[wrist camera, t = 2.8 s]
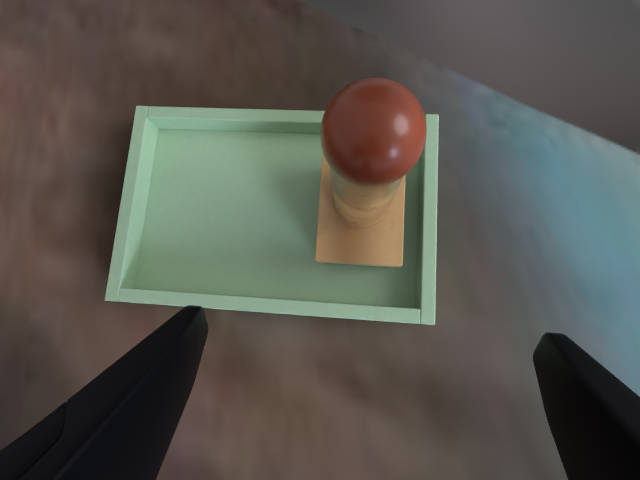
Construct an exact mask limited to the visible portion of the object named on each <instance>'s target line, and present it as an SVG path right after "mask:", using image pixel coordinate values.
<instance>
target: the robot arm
mask: <svg viewBox="0 0 640 480" xmlns="http://www.w3.org/2000/svg"><path fill="white" fill-rule="evenodd" d="M207 335H208V324H207V320H206V316H205V313H204V309H203V308H202V307H201V306H194V305H188V306H185V307H184V308H183V309H181V310H180V311H179V312H178V313H176V314H175V315H174V316H173V317H171V318H170V319H169V320H168V321H166V322H165V323H164V324H163V325H161V326H160V327H159V328H158V329H156V330H155V331H154V332H152V333H151V334H150V335H149V336H147V337H146V338H145V339H144V340H142V341H141V342H140V343H139V344H137V345H136V346H135V347H134V348H132V349H131V350H130V351H129V352H127V353H126V354H125V355H124V356H122V357H121V358H120V359H119V360H117V361H116V362H115V363H114V364H112V365H111V366H110V367H108V368H107V369H106V370H105V371H103V372H102V373H101V374H100V375H98V376H97V377H96V378H95V379H93V380H92V381H91V382H90V383H88V384H87V385H86V386H85V387H83V388H82V389H81V390H80V391H78V392H77V393H76V394H75V395H73V396H72V397H71V398H70V399H68V401H67V402H65V403H63V404H62V405H61V406H59V407H58V408H57V409H56V410H54V411H53V412H52V413H50V414H49V415H48V416H47V417H45V418H44V419H43V420H41V421H40V422H39V423H38V424H36V425H35V426H34V427H32V428H31V429H30V430H28V431H27V432H26V433H24V434H23V435H22V436H20V437H19V438H17V439H16V440H15V441H13V442H12V443H11V444H9V445H8V446H6V447H5V448H4V449H2V450H1V451H0V480H156V478H157V475H158V473H159V470H160V468H161V465H162V463H163V460H164V458H165V455H166V453H167V450H168V448H169V445H170V443H171V440H172V438H173V435H174V433H175V430H176V428H177V425H178V423H179V420H180V418H181V415H182V413H183V410H184V408H185V405H186V403H187V400H188V398H189V395H190V393H191V390H192V387H193V384H194V381H195V378H196V374H197V371H198V367H199V363H200V360H201V356H202V353H203V349H204V345H205V342H206V338H207ZM533 362H534V366H535V371H536V375H537V379H538V383H539V388H540V392H541V396H542V400H543V405H544V409H545V413H546V417H547V420H548V423H549V426H550V429H551V432H552V435H553V438H554V441H555V444H556V446H557V449H558V452H559V455H560V458H561V461H562V463H563V466H564V469H565V472H566V475H567V478H568V480H640V397H639V396H638V395H637V394H636V393H634V392H633V391H632V390H631V389H630V388H628V387H627V386H626V385H625V384H624V383H622V382H621V381H620V380H619V379H618V378H616V377H615V376H614V375H613V374H612V373H610V372H609V371H608V370H607V369H606V368H604V367H603V366H602V365H601V364H600V363H598V362H597V361H596V360H595V359H594V358H592V357H591V356H590V355H589V354H588V353H586V352H585V351H584V350H583V349H582V348H580V347H579V346H578V345H577V344H576V343H574V342H573V341H572V340H571V339H570V338H569V337H567V336H566V335H564V334H561V333H545V334H544V335H543V336H542V338H541V340H540V342H539V344H538V345H537V347H536V349H535V351H534V354H533Z"/></svg>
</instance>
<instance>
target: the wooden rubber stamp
mask: <svg viewBox="0 0 640 480" xmlns="http://www.w3.org/2000/svg"><path fill="white" fill-rule="evenodd" d="M426 134H427V126H426V119H425V115H424V112H423V109H422V107H421V105H420V103H419V101H418V100H417V98H416V97H415V96H414V94H413V93H412V92H411V91H410V90H409V89H407V88H406V87H405V86H403V85H402V84H400V83H398V82H396V81H393V80H390V79H386V78H380V77H371V78H364V79H360V80H357V81H355V82H352V83H351V84H349V85H347V86H346V87H344V88H343V89H342V90H340V91H339V92H338V93H337V94H336V95H335V96H334V98H333V99H332V100H331V102H330V103H329V105H328V106H327V108H326V110H325V112H324V115H323V118H322V122H321V128H320V141H321V147H322V151H323V152H322V166H321V180H320V194H319V208H318V222H317V236H316V250H315V261H316V262H317V263H324V264H340V265H356V266H373V267H389V268H390V267H397V268H399V267H401V266H402V265H403V237H404V206H405V175H406V174H407V173H408V172H409V171H410V170H411V169H412V168H413V167H414V165H415V164H416V163H417V161H418V160H419V158H420V156H421V154H422V151H423V149H424V146H425V141H426Z"/></svg>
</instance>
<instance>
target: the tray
mask: <svg viewBox="0 0 640 480" xmlns="http://www.w3.org/2000/svg"><path fill="white" fill-rule="evenodd" d="M324 112H325V111H302V110H266V109H230V108H193V107H157V106H149V107H148V106H136V111H135V117H134V123H133V129H132V135H131V141H130V147H129V154H128V160H127V166H126V172H125V178H124V184H123V190H122V197H121V203H120V209H119V215H118V221H117V227H116V233H115V240H114V246H113V252H112V258H111V264H110V270H109V276H108V283H107V289H106V295H105V301H119V302H131V303H144V304H158V305H171V306H188V305H194V306H201V307H202V308H212V309H225V310H239V311H252V312H265V313H279V314H292V315H306V316H319V317H333V318H346V319H360V320H373V321H386V322H400V323H413V324H427V325H434V324H435V296H436V239H437V182H438V125H439V116H438V114H424V115H425V119H426V126H427V134H426V141H425V146H424V149H423V151H422V154H421V156H420V158H419V160H418V161H417V163H416V164H415V165H414V167H413V168H412V169H411V170H410V171H409V172H408V173H407V174H406V175H405V206H404V237H403V265H402V266H401V267H399V268H397V267H390V268H389V267H373V266H356V265H340V264H324V263H317V262H316V261H315V250H316V236H317V222H318V208H319V194H320V180H321V166H322V152H323V151H322V147H321V141H320V128H321V122H322V118H323V115H324Z"/></svg>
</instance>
